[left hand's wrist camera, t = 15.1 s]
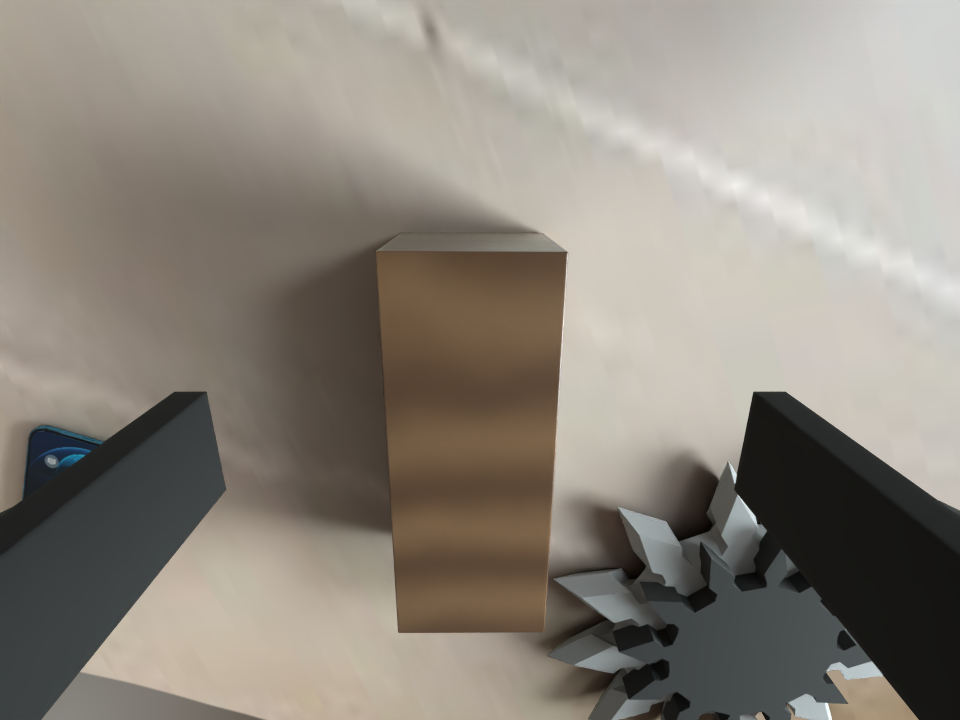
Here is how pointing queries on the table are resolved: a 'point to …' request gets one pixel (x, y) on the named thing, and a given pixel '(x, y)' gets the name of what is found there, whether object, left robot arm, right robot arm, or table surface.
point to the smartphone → (52, 455)
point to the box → (471, 424)
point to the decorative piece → (711, 625)
